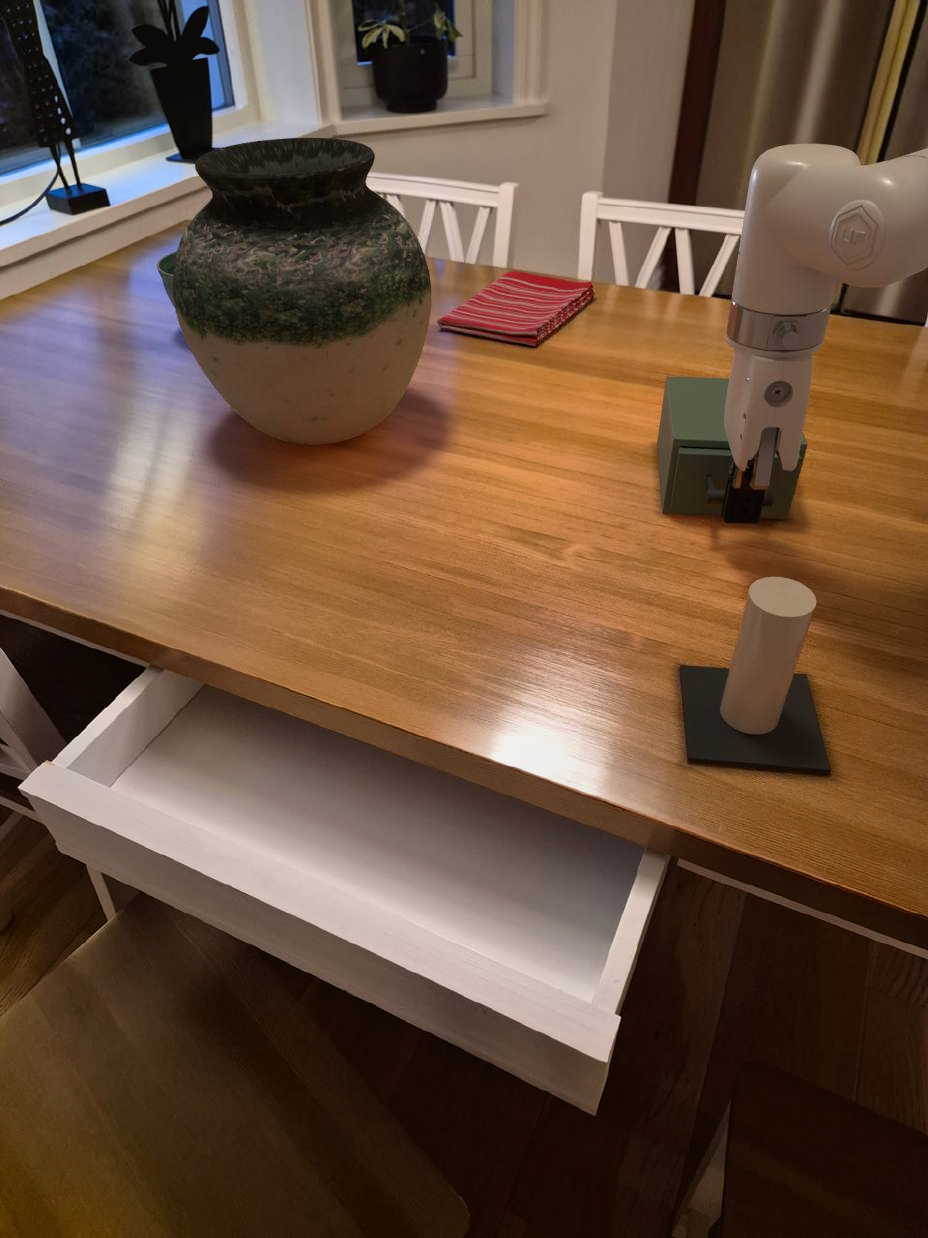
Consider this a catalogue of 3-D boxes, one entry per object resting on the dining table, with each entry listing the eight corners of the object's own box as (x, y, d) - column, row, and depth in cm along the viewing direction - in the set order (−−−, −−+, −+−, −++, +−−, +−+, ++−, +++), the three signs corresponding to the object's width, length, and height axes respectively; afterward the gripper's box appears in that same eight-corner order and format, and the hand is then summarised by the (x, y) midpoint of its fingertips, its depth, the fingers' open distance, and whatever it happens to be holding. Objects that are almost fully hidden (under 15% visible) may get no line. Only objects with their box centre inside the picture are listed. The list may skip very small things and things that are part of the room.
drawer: (792, 542, 80) (809, 481, 76) (672, 535, 82) (682, 475, 77) (766, 453, 94) (779, 396, 90) (663, 448, 95) (671, 392, 91)
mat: (804, 679, 67) (806, 673, 67) (829, 775, 60) (831, 770, 59) (679, 669, 69) (680, 664, 68) (687, 763, 61) (688, 757, 61)
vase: (180, 485, 93) (98, 192, 74) (236, 379, 115) (184, 131, 96) (433, 481, 93) (417, 185, 73) (441, 375, 114) (430, 124, 95)
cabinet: (787, 519, 85) (808, 444, 80) (662, 513, 87) (673, 438, 81) (767, 450, 96) (784, 379, 91) (656, 445, 98) (666, 375, 92)
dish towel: (597, 297, 136) (598, 280, 134) (537, 348, 120) (538, 330, 119) (503, 283, 143) (503, 267, 141) (435, 330, 127) (434, 312, 125)
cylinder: (774, 695, 65) (810, 578, 58) (783, 737, 62) (822, 618, 55) (717, 690, 66) (745, 574, 58) (722, 732, 62) (753, 614, 55)
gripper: (849, 358, 60) (797, 566, 72) (805, 292, 72) (766, 480, 83) (742, 358, 61) (708, 564, 73) (716, 293, 73) (689, 479, 84)
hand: (739, 518), depth 78 cm, fingers closed
